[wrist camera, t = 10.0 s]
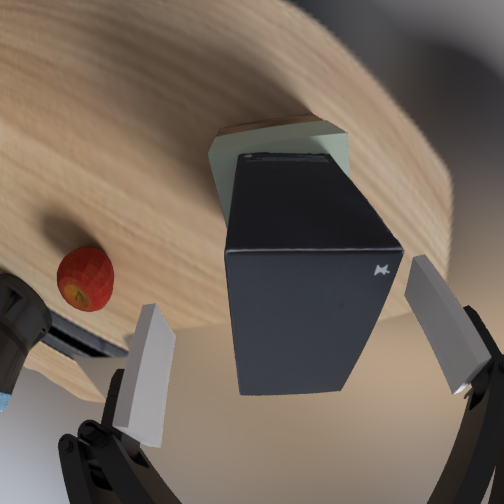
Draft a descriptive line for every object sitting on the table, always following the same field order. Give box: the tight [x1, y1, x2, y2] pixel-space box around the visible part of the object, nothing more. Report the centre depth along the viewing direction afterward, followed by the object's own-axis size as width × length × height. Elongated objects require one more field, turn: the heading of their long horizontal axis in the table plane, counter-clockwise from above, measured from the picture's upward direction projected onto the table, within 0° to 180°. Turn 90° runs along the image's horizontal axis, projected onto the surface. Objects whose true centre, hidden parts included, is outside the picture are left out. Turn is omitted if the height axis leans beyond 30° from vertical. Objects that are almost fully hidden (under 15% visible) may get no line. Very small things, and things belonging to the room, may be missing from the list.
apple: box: [57, 247, 114, 312], centre depth 30 cm, size 8×8×8 cm
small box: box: [224, 152, 404, 396], centre depth 15 cm, size 11×6×10 cm, turn 1°
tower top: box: [207, 120, 350, 228], centre depth 22 cm, size 9×12×5 cm
